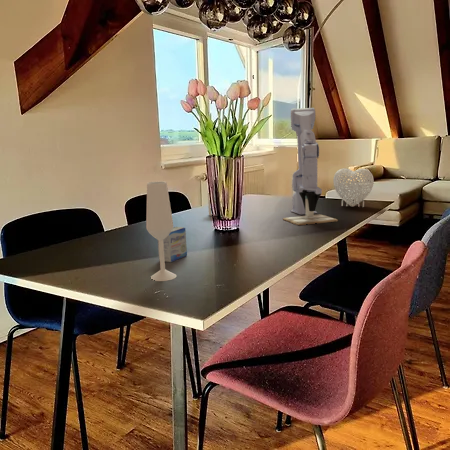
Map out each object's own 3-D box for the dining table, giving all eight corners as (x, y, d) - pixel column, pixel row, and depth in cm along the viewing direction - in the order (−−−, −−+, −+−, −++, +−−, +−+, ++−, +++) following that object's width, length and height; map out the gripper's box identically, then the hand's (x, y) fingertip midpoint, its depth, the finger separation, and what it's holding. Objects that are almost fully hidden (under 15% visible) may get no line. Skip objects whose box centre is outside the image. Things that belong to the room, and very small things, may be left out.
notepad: (282, 219, 181) (282, 217, 181) (320, 215, 186) (320, 213, 186) (298, 225, 169) (298, 223, 169) (337, 221, 174) (337, 218, 174)
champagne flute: (144, 278, 114) (137, 183, 109) (161, 271, 119) (155, 180, 114) (165, 282, 110) (158, 184, 105) (181, 274, 116) (176, 181, 111)
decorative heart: (376, 205, 203) (377, 167, 200) (368, 209, 195) (369, 170, 191) (338, 203, 214) (338, 167, 210) (329, 207, 205) (329, 169, 202)
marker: (303, 215, 178) (303, 195, 177) (311, 214, 179) (311, 194, 177) (307, 217, 175) (307, 196, 173) (315, 216, 176) (315, 195, 174)
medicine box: (170, 262, 127) (168, 232, 125) (158, 261, 129) (156, 231, 128) (187, 255, 134) (185, 227, 132) (175, 254, 136) (173, 226, 134)
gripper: (291, 174, 179) (292, 208, 182) (309, 177, 166) (309, 214, 169) (307, 173, 182) (307, 206, 184) (326, 176, 168) (326, 212, 171)
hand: (309, 210), depth 177 cm, fingers closed on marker, 3 cm apart
